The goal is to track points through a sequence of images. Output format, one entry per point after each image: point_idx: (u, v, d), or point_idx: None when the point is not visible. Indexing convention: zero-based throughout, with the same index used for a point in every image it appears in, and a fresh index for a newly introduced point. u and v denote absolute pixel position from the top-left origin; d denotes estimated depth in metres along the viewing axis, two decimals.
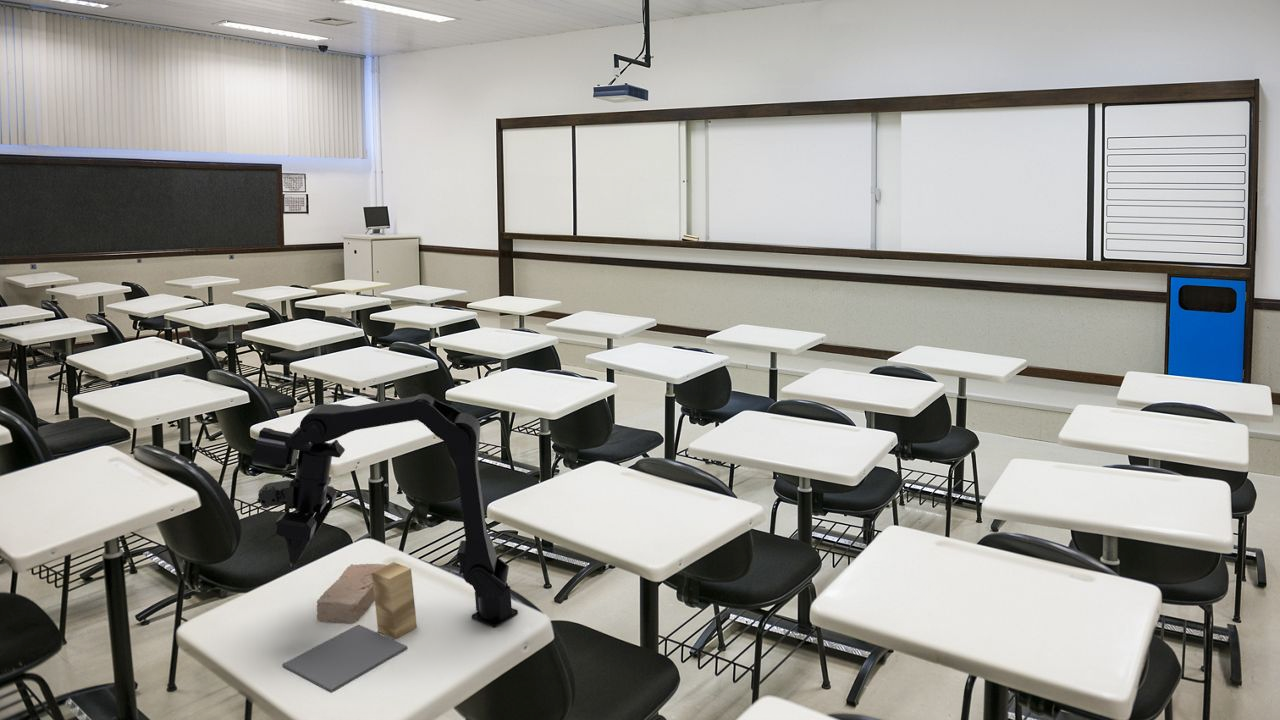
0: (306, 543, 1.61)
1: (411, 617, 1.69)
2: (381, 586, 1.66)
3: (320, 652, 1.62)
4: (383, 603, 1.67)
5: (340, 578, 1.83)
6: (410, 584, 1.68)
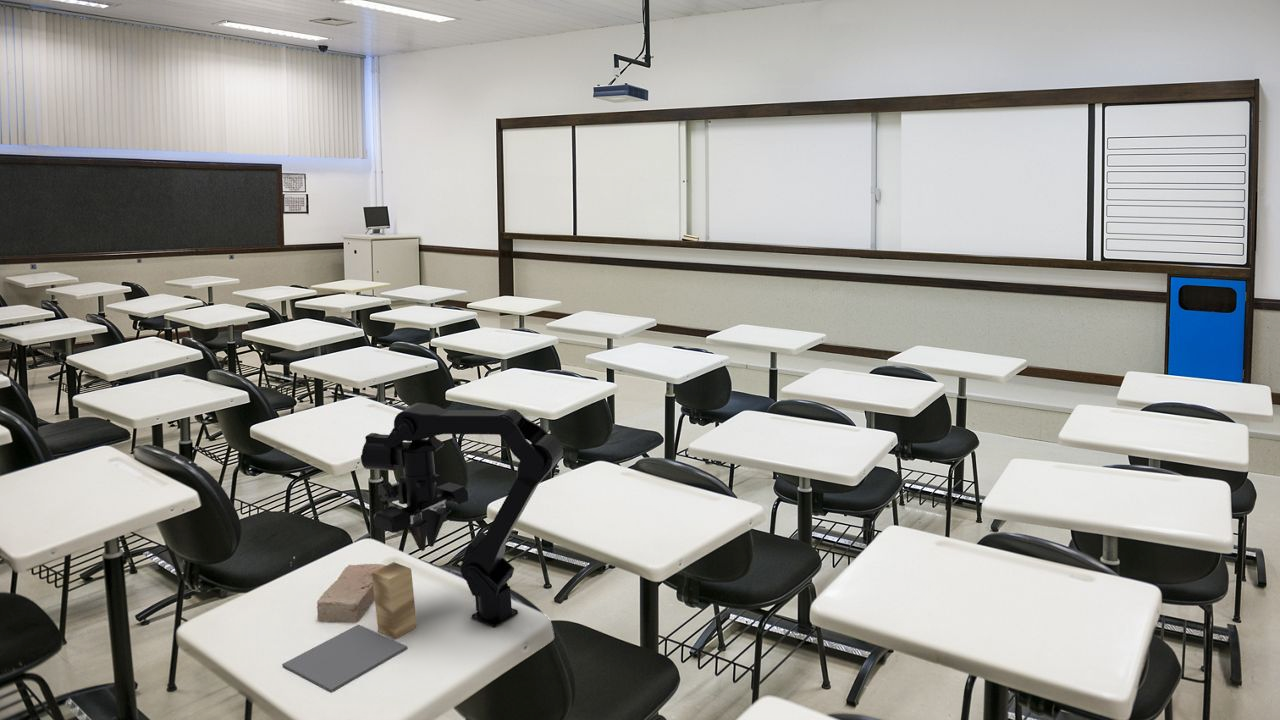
0: (419, 530, 1.69)
1: (411, 617, 1.69)
2: (381, 586, 1.66)
3: (320, 652, 1.62)
4: (383, 603, 1.67)
5: (339, 578, 1.83)
6: (410, 584, 1.68)
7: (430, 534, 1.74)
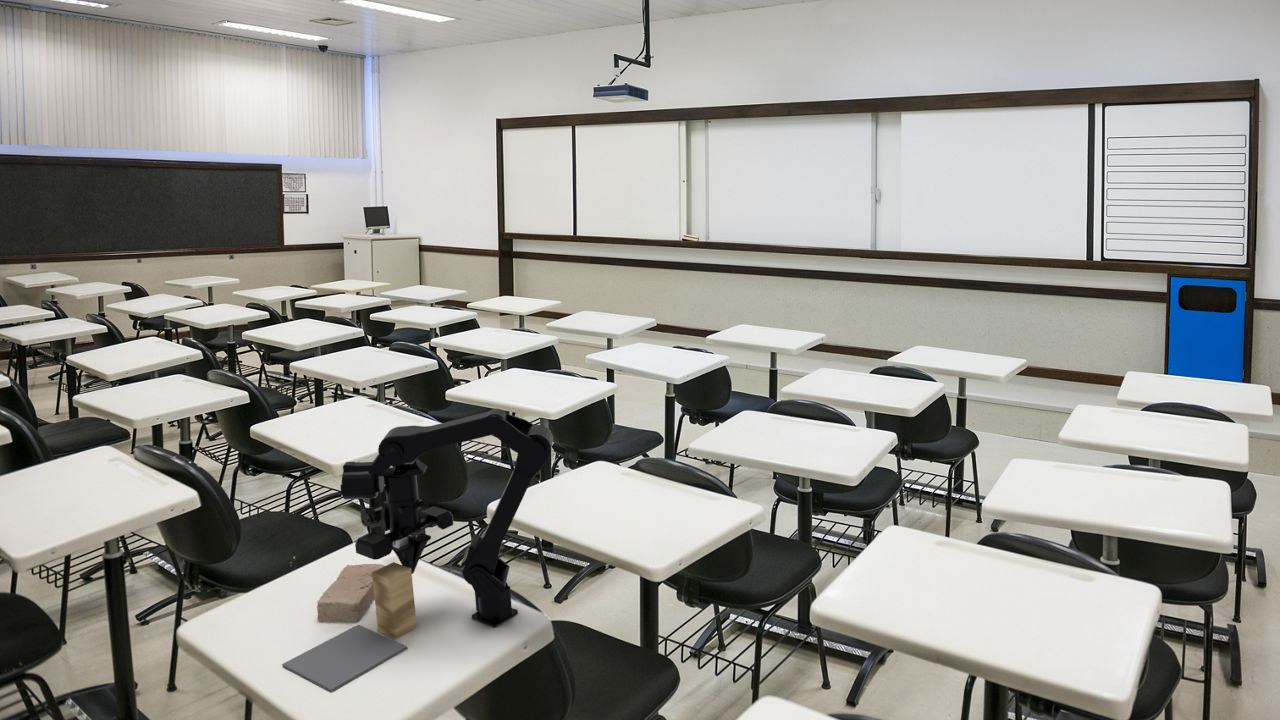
0: (406, 555, 1.67)
1: (411, 617, 1.69)
2: (381, 586, 1.66)
3: (320, 652, 1.62)
4: (383, 603, 1.67)
5: (337, 579, 1.83)
6: (410, 584, 1.68)
7: None
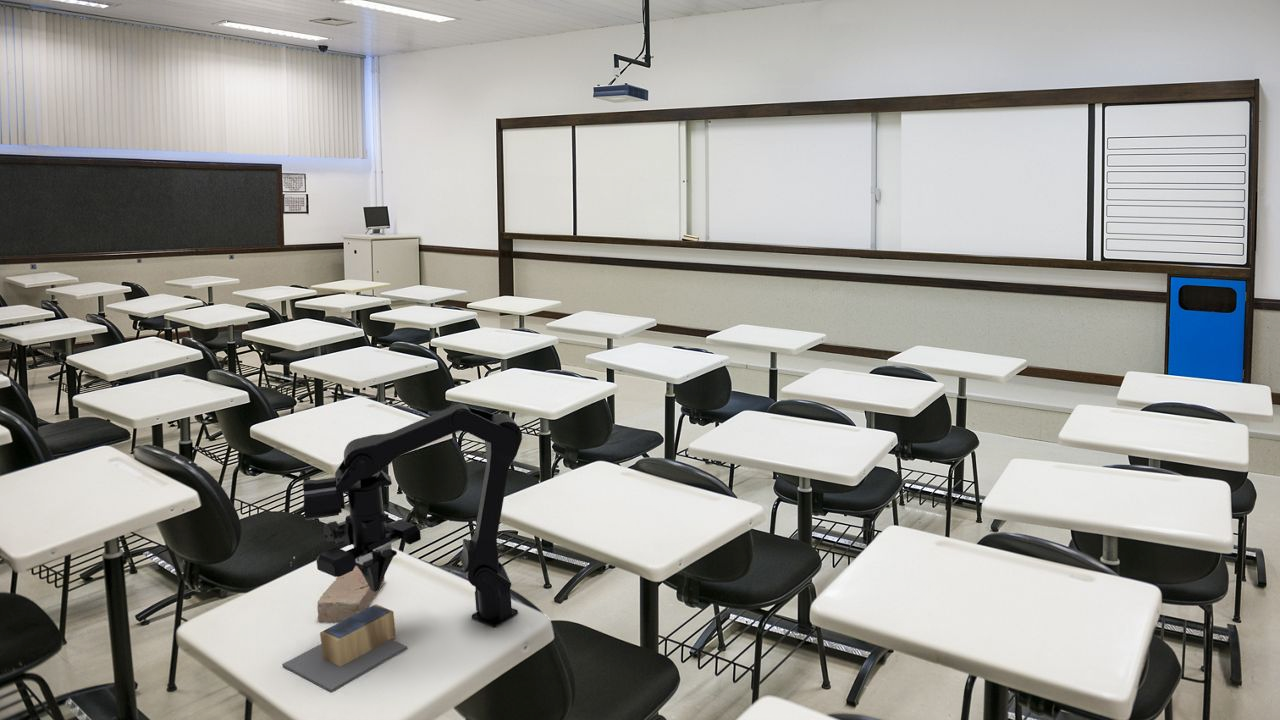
0: (370, 571, 1.61)
1: (382, 622, 1.64)
2: None
3: (320, 652, 1.62)
4: None
5: (337, 579, 1.82)
6: (352, 635, 1.59)
7: None
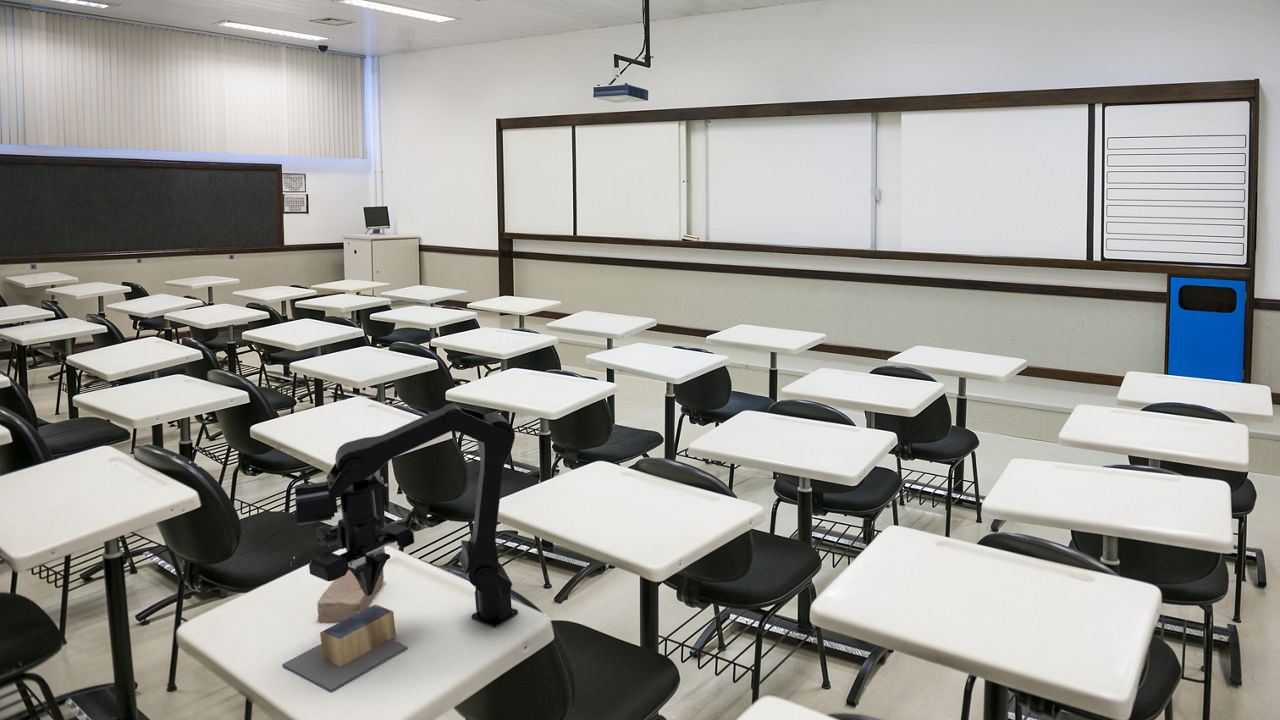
0: (363, 575, 1.60)
1: (382, 622, 1.64)
2: None
3: (320, 652, 1.62)
4: None
5: (336, 579, 1.82)
6: (352, 635, 1.59)
7: None
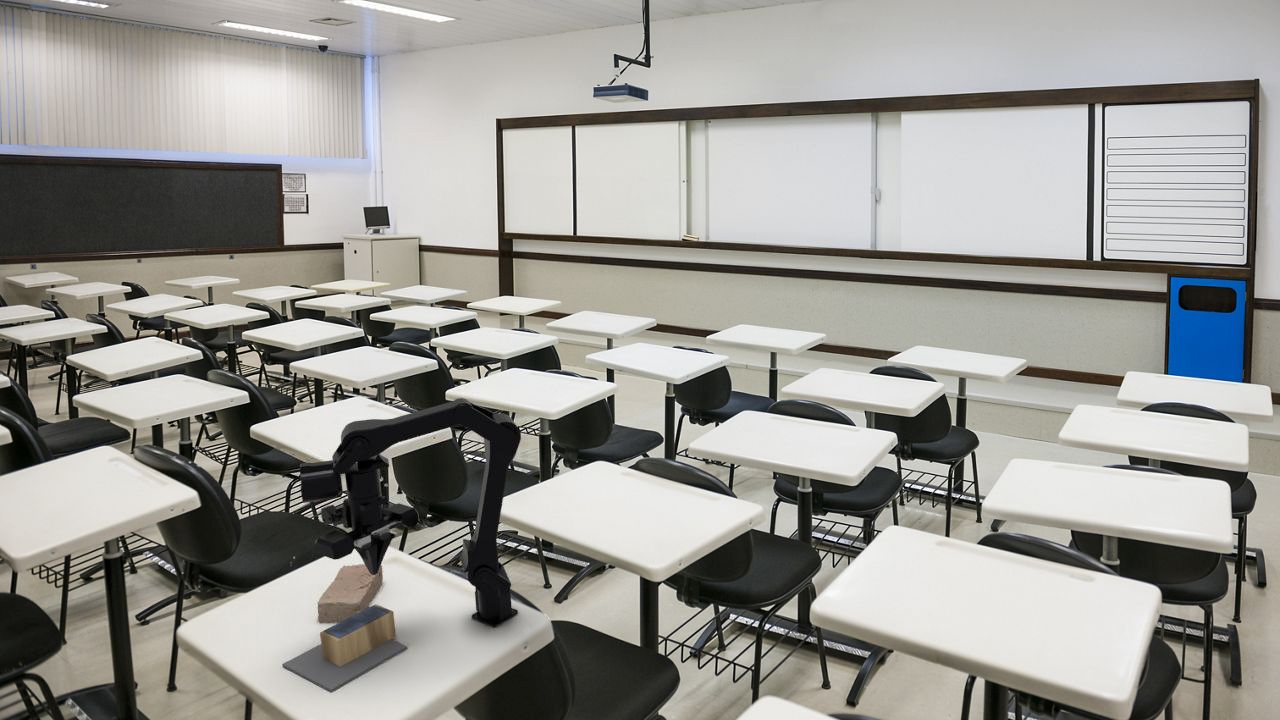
0: (369, 554, 1.60)
1: (382, 622, 1.64)
2: None
3: (320, 652, 1.62)
4: None
5: (335, 579, 1.82)
6: (352, 635, 1.59)
7: None
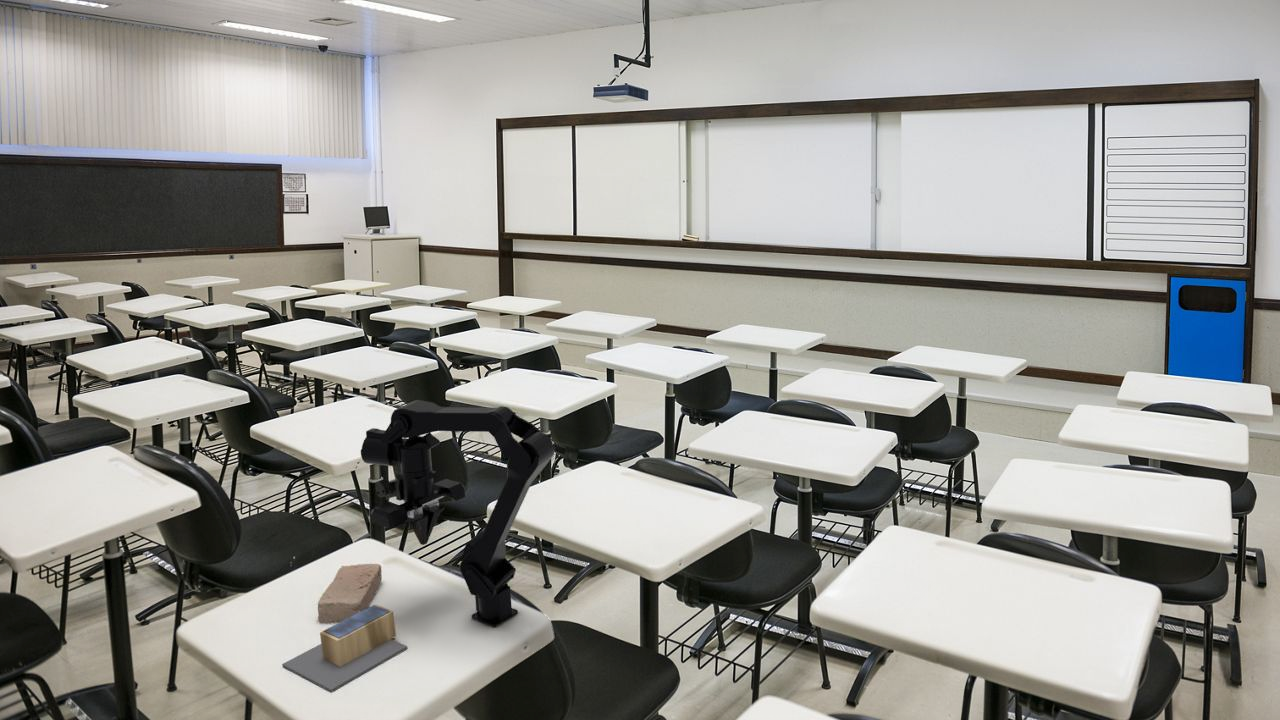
0: (420, 525, 1.72)
1: (382, 622, 1.64)
2: None
3: (320, 652, 1.62)
4: None
5: (334, 579, 1.82)
6: (352, 635, 1.59)
7: None
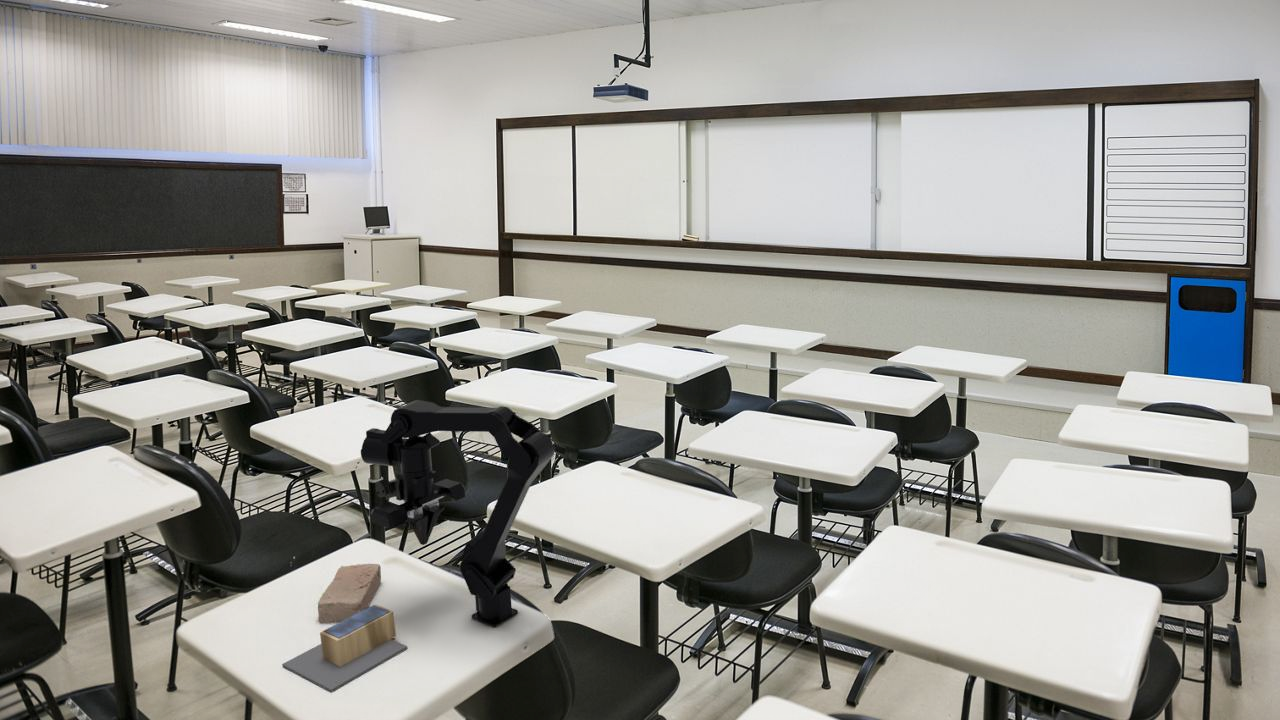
0: (420, 525, 1.72)
1: (382, 622, 1.64)
2: None
3: (320, 652, 1.62)
4: None
5: (334, 580, 1.82)
6: (352, 635, 1.59)
7: None
